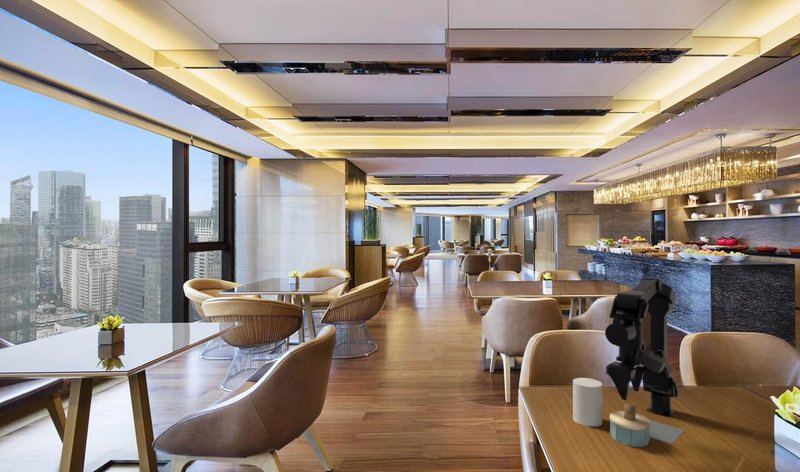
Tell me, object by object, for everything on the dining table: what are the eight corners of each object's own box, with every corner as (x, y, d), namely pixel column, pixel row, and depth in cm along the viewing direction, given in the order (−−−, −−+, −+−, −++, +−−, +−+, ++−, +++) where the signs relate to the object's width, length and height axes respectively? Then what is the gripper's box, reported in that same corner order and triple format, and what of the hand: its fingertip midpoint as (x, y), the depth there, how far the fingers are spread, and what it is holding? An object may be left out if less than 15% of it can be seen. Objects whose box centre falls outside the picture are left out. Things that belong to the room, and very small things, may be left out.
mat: (639, 418, 132) (639, 417, 132) (684, 431, 124) (684, 430, 124) (624, 430, 124) (624, 429, 124) (672, 445, 115) (672, 444, 115)
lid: (617, 411, 126) (617, 396, 126) (655, 422, 118) (655, 405, 118) (604, 421, 119) (604, 405, 119) (643, 433, 111) (643, 416, 111)
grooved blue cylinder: (618, 429, 125) (618, 412, 125) (653, 440, 118) (653, 422, 118) (606, 439, 119) (606, 421, 119) (641, 451, 112) (641, 432, 112)
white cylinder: (605, 428, 125) (605, 387, 125) (575, 426, 127) (575, 386, 127) (598, 417, 133) (598, 378, 133) (570, 415, 135) (570, 377, 135)
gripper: (651, 351, 106) (651, 414, 106) (673, 338, 119) (673, 394, 119) (605, 342, 114) (605, 401, 114) (630, 331, 127) (630, 384, 127)
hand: (630, 395), depth 119 cm, fingers open, 9 cm apart
